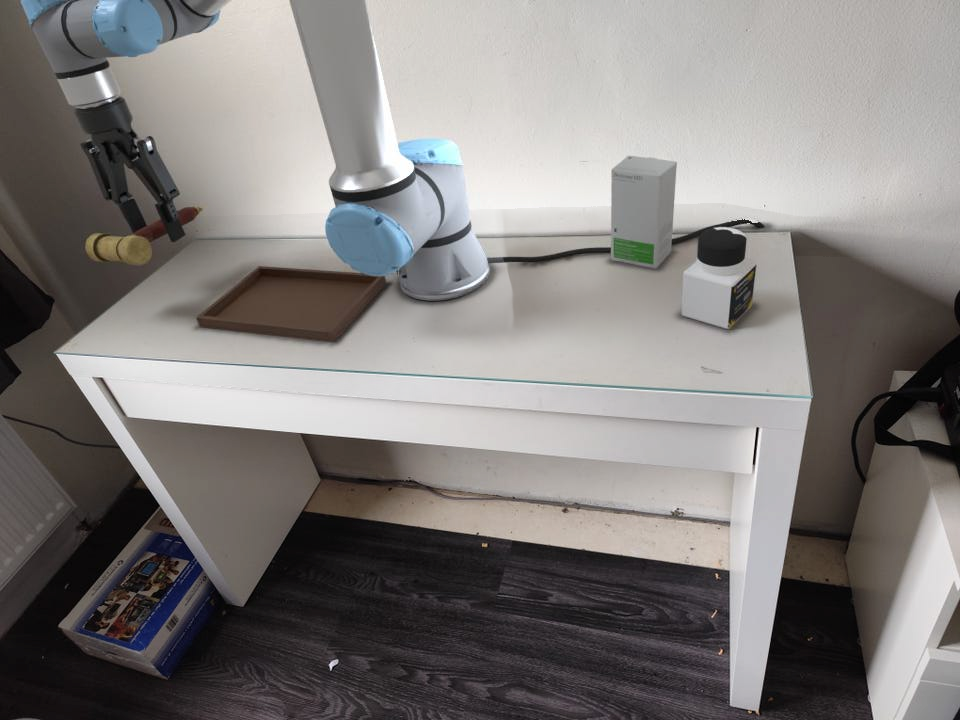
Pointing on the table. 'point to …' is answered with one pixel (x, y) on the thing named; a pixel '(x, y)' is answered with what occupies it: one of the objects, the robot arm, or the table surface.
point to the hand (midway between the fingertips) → (160, 237)
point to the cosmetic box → (642, 210)
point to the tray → (293, 303)
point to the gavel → (133, 241)
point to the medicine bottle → (719, 279)
